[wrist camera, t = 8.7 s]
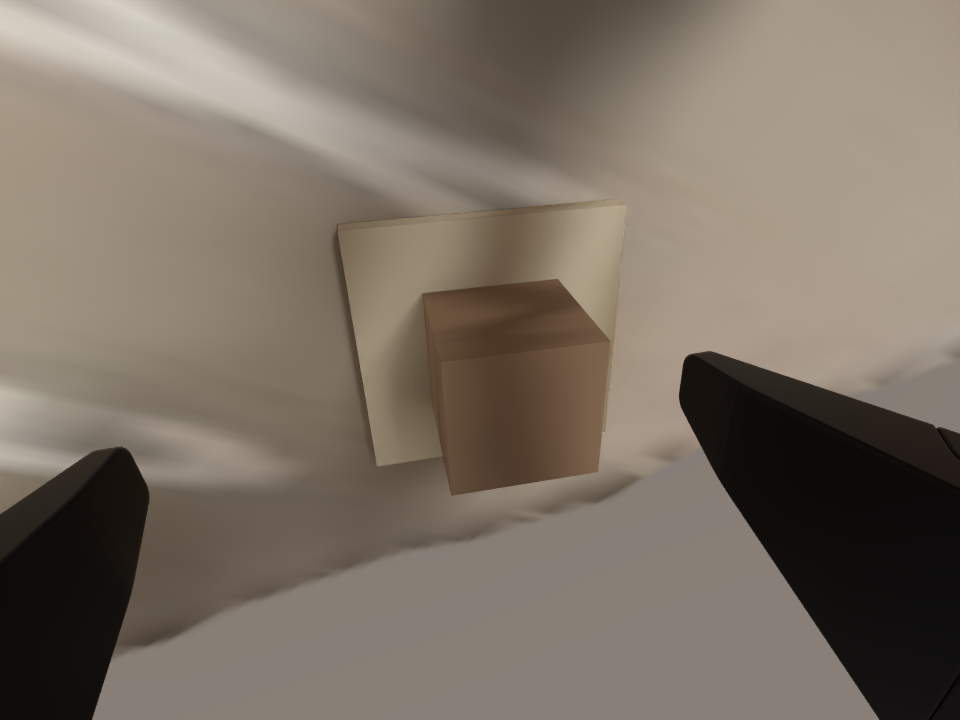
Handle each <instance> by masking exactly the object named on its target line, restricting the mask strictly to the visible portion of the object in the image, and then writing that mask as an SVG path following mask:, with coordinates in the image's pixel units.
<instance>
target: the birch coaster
mask: <svg viewBox="0 0 960 720" xmlns="http://www.w3.org/2000/svg"><path fill="white" fill-rule="evenodd" d="M626 207H627V205H626V204H625V203H623V202H621V201H620V200H618V199H614V200H603V201H592V202H581V203H570V204H558V205H547V206H536V207H525V208H514V209H503V210H491V211H480V212H469V213H458V214H447V215H436V216H424V217H413V218H402V219H391V220H380V221H369V222H358V223H346V224H338V229H337V232H338V238H339V244H340V250H341V256H342V262H343V268H344V274H345V280H346V286H347V292H348V297H349V303H350V309H351V315H352V321H353V327H354V333H355V339H356V345H357V351H358V357H359V363H360V369H361V374H362V380H363V386H364V392H365V398H366V404H367V410H368V416H369V422H370V428H371V434H372V440H373V445H374V451H375V457H376V463H377V467H378V466H384V465H391V464H397V463H404V462H410V461H417V460H423V459H430V458H436V457H443V454H442V449H441V444H440V440H439V435H438V430H437V425H436V421H435V416H434V411H433V404H432V393H431V382H430V371H429V360H428V349H427V338H426V327H425V316H424V305H423V295H422V293H428V292H438V291H447V290H456V289H466V288H475V287H485V286H494V285H503V284H513V283H522V282H532V281H541V280H551V279H558V280H559V281H560V282H561V283H562V284H563V286H564V287H565V288H566V289H567V290H568V291H569V293H570V294H571V295H572V296H573V297H574V299H575V300H576V301H577V302H578V303H579V304H580V306H581V307H582V308H583V309H584V310H585V312H586V313H587V314H588V315H589V316H590V317H591V319H592V320H593V321H594V322H595V323H596V325H597V326H598V327H599V328H600V329H601V330H602V332H603V333H604V334H605V335H606V336H607V337H608V339H609V340H610V341H611V343H610V353H609V364H608V374H607V384H606V395H605V405H604V415H603V426H602V432H605V426H606V415H607V405H608V395H609V384H610V374H611V363H612V353H613V342H614V332H615V322H616V311H617V301H618V290H619V280H620V269H621V259H622V249H623V238H624V228H625V217H626Z"/></svg>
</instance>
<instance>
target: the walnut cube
mask: <svg viewBox="0 0 960 720" xmlns="http://www.w3.org/2000/svg"><path fill="white" fill-rule="evenodd" d="M422 295H423V305H424V316H425V327H426V338H427V349H428V360H429V371H430V382H431V393H432V404H433V411H434V416H435V421H436V425H437V430H438V435H439V440H440V444H441V449H442V454H443V459H444V463H445V468H446V473H447V478H448V482H449V487H450V492H451V496H452V495H458V494H464V493H471V492H477V491H483V490H489V489H495V488H501V487H508V486H514V485H520V484H526V483H532V482H539V481H545V480H551V479H557V478H563V477H569V476H576V475H582V474H588V473H594V472H598V467H599V457H600V446H601V436H602V426H603V415H604V405H605V395H606V384H607V374H608V364H609V353H610V343H611V341H610V340H609V339H608V337H607V336H606V335H605V334H604V333H603V332H602V330H601V329H600V328H599V327H598V326H597V325H596V323H595V322H594V321H593V320H592V319H591V317H590V316H589V315H588V314H587V313H586V312H585V310H584V309H583V308H582V307H581V306H580V304H579V303H578V302H577V301H576V300H575V299H574V297H573V296H572V295H571V294H570V293H569V291H568V290H567V289H566V288H565V287H564V286H563V284H562V283H561V282H560V281H559V280H558V279H551V280H541V281H532V282H522V283H513V284H503V285H494V286H485V287H475V288H466V289H456V290H447V291H438V292H428V293H422Z"/></svg>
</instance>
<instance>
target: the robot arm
mask: <svg viewBox="0 0 960 720" xmlns="http://www.w3.org/2000/svg"><path fill="white" fill-rule="evenodd" d="M679 401H680V405H681V408H682V410H683V412H684V414H685V416H686V418H687V420H688V422H689V424H690V426H691V428H692V430H693V432H694V434H695V435H696V437H697V439H698V441H699V443H700V445H701V447H702V449H703V451H704V453H705V455H706V457H707V459H708V460H709V462H710V464H711V466H712V468H713V470H714V472H715V473H716V475H717V477H718V478H719V480H720V482H721V484H722V485H723V487H724V488H725V490H726V491H727V493H728V494H729V496H730V497H731V499H732V500H733V502H734V503H735V505H736V506H737V508H738V509H739V511H740V512H741V514H742V515H743V517H744V518H745V520H746V521H747V523H748V524H749V526H750V527H751V529H752V530H753V532H754V533H755V535H756V536H757V538H758V539H759V541H760V542H761V544H762V545H763V547H764V548H765V549H766V551H767V552H768V554H769V556H770V557H771V558H772V560H773V562H774V563H775V564H776V566H777V567H778V569H779V571H780V572H781V573H782V575H783V576H784V578H785V579H786V581H787V582H788V584H789V585H790V587H791V588H792V590H793V591H794V593H795V594H796V596H797V597H798V599H799V600H800V602H801V603H802V605H803V606H804V608H805V609H806V611H807V612H808V614H809V615H810V617H811V618H812V620H813V621H814V622H815V624H816V626H817V627H818V629H819V630H820V632H821V633H822V635H823V636H824V637H825V639H826V640H827V642H828V644H829V645H830V647H831V648H832V649H833V651H834V653H835V654H836V655H837V657H838V658H839V660H840V662H841V663H842V664H843V666H844V667H845V669H846V670H847V672H848V673H849V675H850V676H851V678H852V679H853V681H854V682H855V684H856V685H857V687H858V688H859V690H860V691H861V693H862V694H863V696H864V697H865V699H866V700H867V702H868V703H869V705H870V706H871V708H872V709H873V711H874V712H875V714H876V715H877V717H878V718H879V720H960V434H959V433H957V432H954V431H951V430H948V429H945V428H941V427H938V428H935V426H934V425H932V424H929V423H926V422H923V421H920V420H917V419H914V418H911V417H908V416H905V415H902V414H899V413H896V412H893V411H890V410H887V409H884V408H881V407H878V406H875V405H872V404H869V403H866V402H863V401H860V400H857V399H854V398H851V397H848V396H845V395H842V394H839V393H836V392H833V391H830V390H827V389H824V388H821V387H818V386H815V385H812V384H809V383H806V382H803V381H800V380H796V379H793V378H790V377H787V376H784V375H781V374H778V373H775V372H772V371H769V370H766V369H763V368H760V367H757V366H754V365H751V364H748V363H745V362H742V361H739V360H736V359H733V358H730V357H727V356H724V355H721V354H718V353H715V352H712V351H706V352H700V353H694V354H690V355H688V356H687V357H686V358H685V360H684V363H683V370H682V377H681V384H680V391H679ZM148 505H149V491H148V487H147V484H146V482H145V480H144V478H143V477H142V475H141V473H140V471H139V469H138V467H137V465H136V463H135V461H134V459H133V457H132V455H131V453H130V452H129V451H128V450H127V449H126V448H123V447H115V448H108V449H102V450H96V451H93V452H91V453H90V454H88V455H87V456H85V457H84V458H82V459H81V460H79V461H78V462H76V463H75V464H74V465H72V466H71V467H69V468H68V469H66V470H65V471H63V472H62V473H60V474H59V475H57V476H56V477H54V478H53V479H51V480H50V481H49V482H47V483H46V484H44V485H43V486H41V487H40V488H38V489H37V490H35V491H34V492H32V493H31V494H29V495H28V496H26V497H25V498H24V499H22V500H21V501H19V502H18V503H16V504H15V505H13V506H12V507H10V508H9V509H7V510H6V511H4V512H3V513H1V514H0V720H92V718H93V715H94V712H95V709H96V705H97V702H98V699H99V696H100V693H101V689H102V686H103V683H104V680H105V677H106V674H107V670H108V667H109V664H110V661H111V658H112V654H113V651H114V648H115V645H116V642H117V639H118V635H119V632H120V629H121V626H122V623H123V619H124V616H125V613H126V610H127V606H128V603H129V599H130V596H131V592H132V588H133V584H134V579H135V574H136V569H137V563H138V558H139V553H140V548H141V542H142V537H143V532H144V526H145V521H146V516H147V510H148Z"/></svg>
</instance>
